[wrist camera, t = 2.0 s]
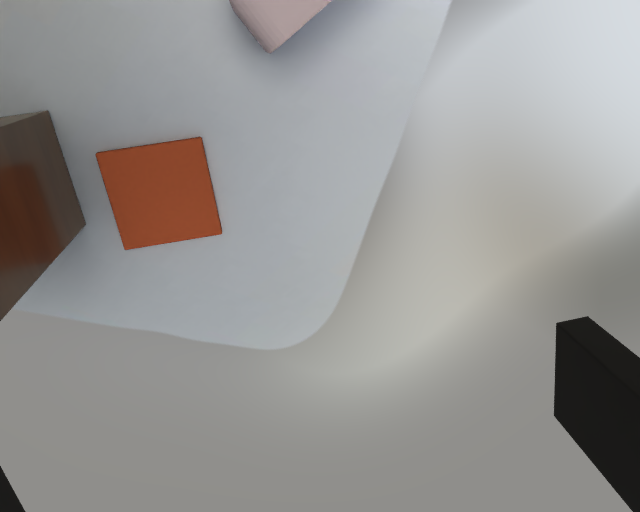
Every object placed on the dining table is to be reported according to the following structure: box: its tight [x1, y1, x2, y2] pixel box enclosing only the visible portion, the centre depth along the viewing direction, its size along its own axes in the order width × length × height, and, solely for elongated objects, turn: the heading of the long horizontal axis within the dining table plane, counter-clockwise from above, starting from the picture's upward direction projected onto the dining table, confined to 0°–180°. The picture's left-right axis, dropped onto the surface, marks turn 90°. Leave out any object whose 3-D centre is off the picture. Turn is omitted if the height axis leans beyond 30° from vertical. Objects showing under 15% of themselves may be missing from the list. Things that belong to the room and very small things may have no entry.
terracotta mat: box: [96, 137, 222, 250], centre depth 40 cm, size 8×8×1 cm
